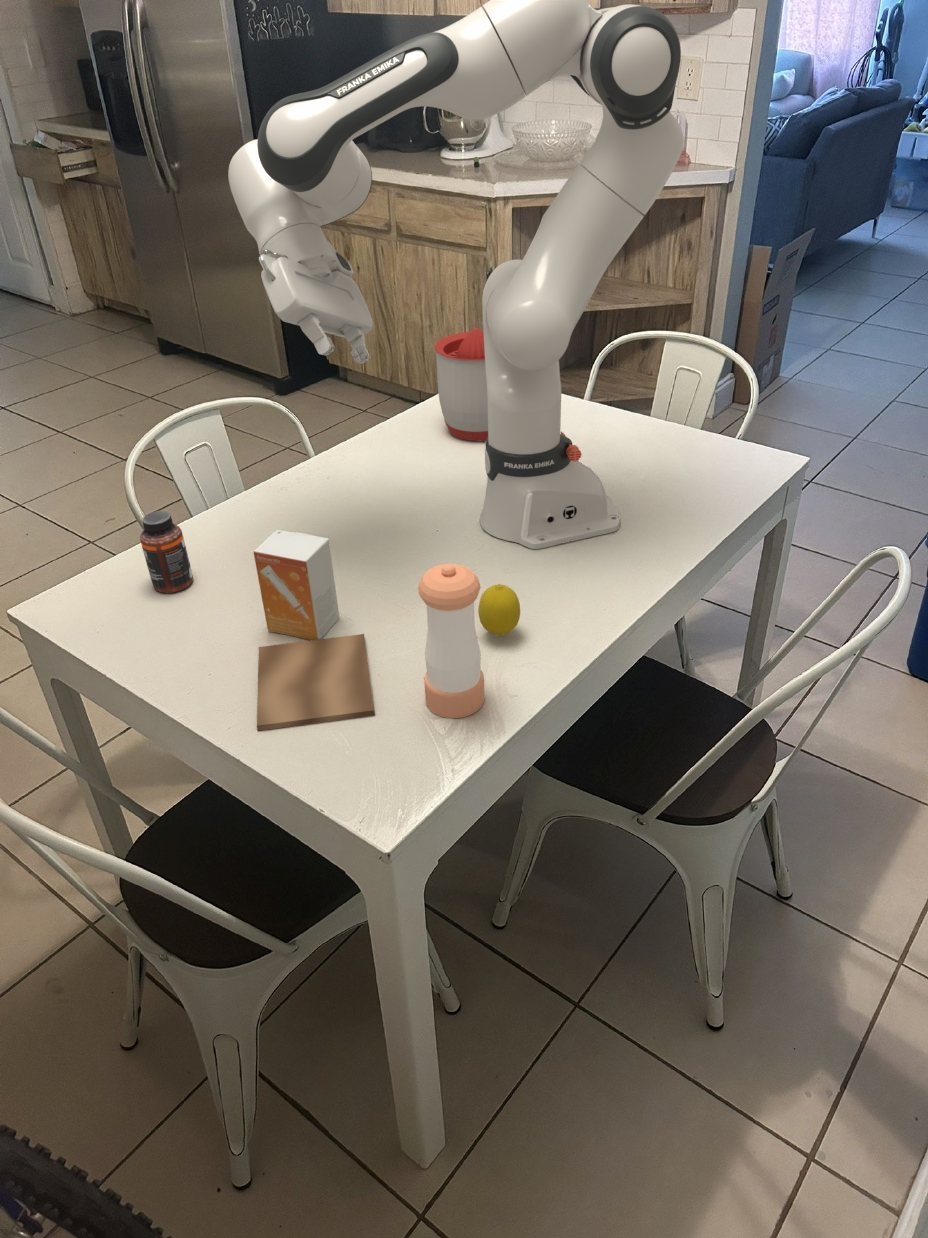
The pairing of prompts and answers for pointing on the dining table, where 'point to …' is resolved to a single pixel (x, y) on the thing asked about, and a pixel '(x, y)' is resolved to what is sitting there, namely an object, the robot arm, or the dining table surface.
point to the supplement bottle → (165, 553)
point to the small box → (297, 584)
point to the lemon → (499, 609)
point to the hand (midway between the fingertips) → (346, 356)
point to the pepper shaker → (452, 641)
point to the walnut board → (313, 682)
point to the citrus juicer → (463, 384)
